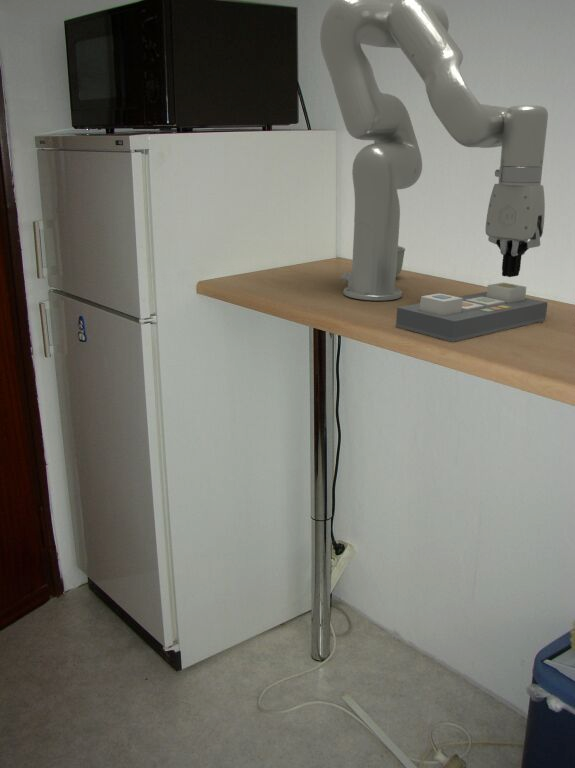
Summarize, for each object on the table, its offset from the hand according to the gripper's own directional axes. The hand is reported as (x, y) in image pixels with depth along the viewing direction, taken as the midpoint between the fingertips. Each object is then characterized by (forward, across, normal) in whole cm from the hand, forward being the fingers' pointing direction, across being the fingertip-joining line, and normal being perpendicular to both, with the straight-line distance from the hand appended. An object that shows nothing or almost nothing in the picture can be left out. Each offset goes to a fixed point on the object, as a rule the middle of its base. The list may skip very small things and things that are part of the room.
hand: (510, 275), depth 146 cm
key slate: (+5, 0, -20) cm, 20 cm away
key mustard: (+5, 0, 0) cm, 5 cm away
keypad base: (+8, 0, -10) cm, 13 cm away
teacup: (+8, -44, +9) cm, 45 cm away
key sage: (+7, -1, -7) cm, 10 cm away
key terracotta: (+7, -1, -13) cm, 15 cm away
